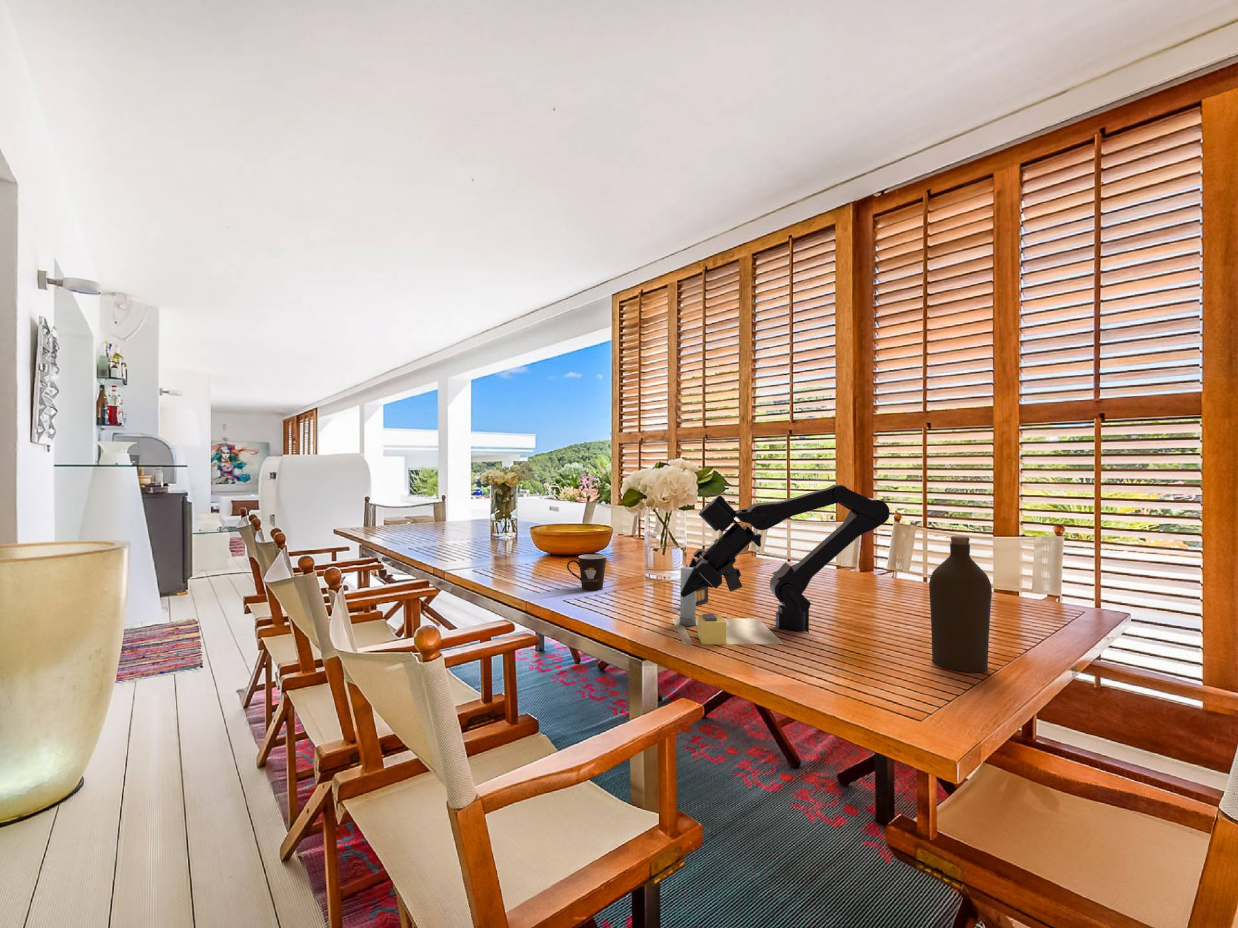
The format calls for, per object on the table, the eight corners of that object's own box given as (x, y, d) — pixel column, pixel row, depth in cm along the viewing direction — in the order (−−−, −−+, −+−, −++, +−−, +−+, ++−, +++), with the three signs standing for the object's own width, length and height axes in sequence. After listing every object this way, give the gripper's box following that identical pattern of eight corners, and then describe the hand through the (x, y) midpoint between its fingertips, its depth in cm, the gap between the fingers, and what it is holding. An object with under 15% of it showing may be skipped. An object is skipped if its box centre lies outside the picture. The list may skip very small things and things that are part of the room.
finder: (720, 635, 129) (720, 612, 129) (726, 644, 123) (726, 619, 123) (697, 635, 129) (697, 612, 129) (702, 644, 123) (702, 619, 123)
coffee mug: (611, 587, 184) (611, 556, 184) (595, 593, 177) (596, 559, 177) (581, 583, 190) (581, 552, 190) (565, 588, 183) (565, 556, 183)
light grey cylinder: (694, 622, 140) (695, 567, 140) (697, 625, 136) (698, 569, 136) (678, 621, 140) (679, 566, 140) (680, 625, 136) (681, 569, 136)
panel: (757, 624, 143) (757, 618, 143) (783, 650, 123) (783, 643, 123) (671, 624, 142) (671, 618, 142) (683, 651, 122) (683, 644, 122)
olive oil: (946, 673, 110) (947, 540, 110) (918, 655, 121) (919, 533, 121) (1004, 674, 110) (1004, 540, 110) (970, 655, 121) (971, 533, 120)
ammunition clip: (687, 609, 158) (687, 564, 158) (681, 608, 159) (682, 563, 159) (708, 602, 166) (708, 559, 166) (702, 601, 167) (703, 558, 167)
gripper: (760, 579, 127) (708, 629, 128) (749, 562, 145) (703, 605, 147) (723, 542, 127) (672, 592, 129) (717, 530, 146) (672, 573, 147)
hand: (681, 591), depth 138 cm, fingers open, 7 cm apart
